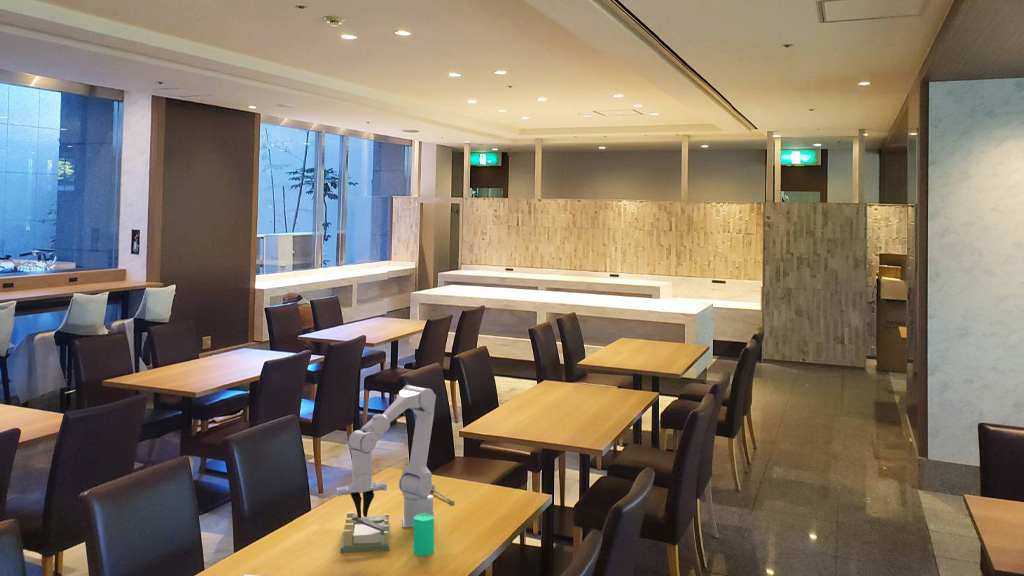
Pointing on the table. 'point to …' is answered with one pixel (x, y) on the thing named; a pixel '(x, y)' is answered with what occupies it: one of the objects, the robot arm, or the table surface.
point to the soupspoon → (442, 495)
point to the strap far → (375, 519)
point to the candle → (423, 534)
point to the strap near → (369, 523)
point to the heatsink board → (367, 545)
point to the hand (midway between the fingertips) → (362, 516)
